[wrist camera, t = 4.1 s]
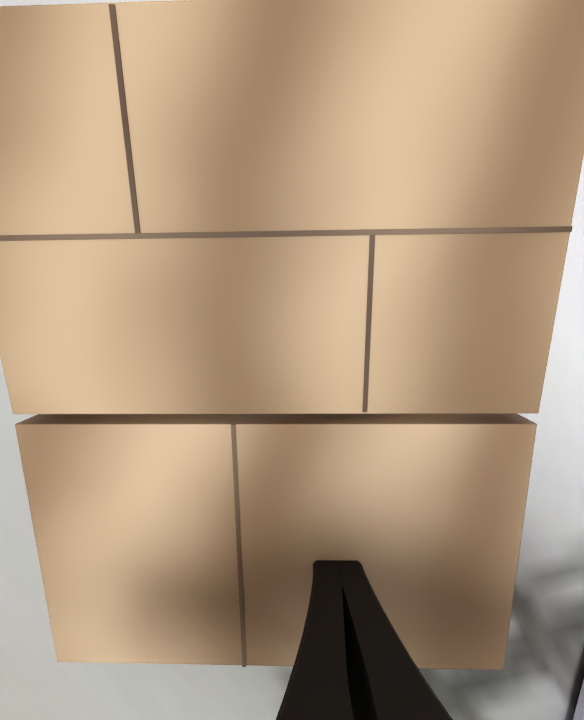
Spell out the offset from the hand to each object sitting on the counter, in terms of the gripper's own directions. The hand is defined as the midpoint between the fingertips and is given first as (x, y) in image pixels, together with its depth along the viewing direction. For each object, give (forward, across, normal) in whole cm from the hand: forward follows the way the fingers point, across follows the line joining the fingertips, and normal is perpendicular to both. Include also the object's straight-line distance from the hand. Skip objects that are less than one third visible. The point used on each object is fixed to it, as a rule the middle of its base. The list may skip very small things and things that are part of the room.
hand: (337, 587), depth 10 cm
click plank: (+1, +2, -1) cm, 3 cm away
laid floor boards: (+1, +2, -10) cm, 10 cm away
